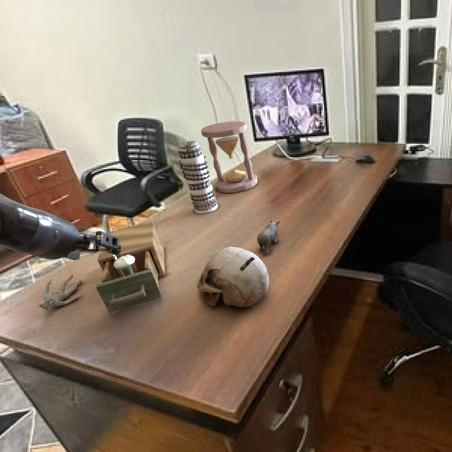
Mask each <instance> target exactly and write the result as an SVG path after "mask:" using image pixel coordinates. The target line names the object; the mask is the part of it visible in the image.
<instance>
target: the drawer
mask: <svg viewBox="0 0 452 452" xmlns="http://www.w3.org/2000/svg"><path fill="white" fill-rule="evenodd" d="M130 256H133V257H134V258H135V261H136V265H137V269H138V273H135V274H131V275H128V276H124V277H121V276H120V275H119V273H118V272H117V270H116V269H115V267H114V262H115V261H116V260H115V259H112V260H109V261H106V264H105V268H104V272H103V271H102V277H101V282H100V283H97V284H96V285H95V289H96V291H97V293H98V294H99V296H100V299H101V300H102V302H103V304H104V307H105V308H106V310H107V312H108V313H109V314H113V313H115V312H119V311H123V310H125V309H129V308H131V307H135V306H139V305H142V304H145V303H148V302H151V301H154V300H157V299H160V298H163V293H162V291H161V289H160V286H159V277H158V267H157V264H156V262H155V259H154V257H153V254H152V252H151V250H150V249H149V250H146V251H142V252H138V253H135V254H131V255H130ZM120 258H121V257H120ZM117 259H119V258H117Z"/></svg>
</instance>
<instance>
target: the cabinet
mask: <svg viewBox="0 0 452 452" xmlns="http://www.w3.org/2000/svg"><path fill="white" fill-rule="evenodd" d="M106 233H108V234H110V235H113V236H116V237H118V238H119V245H121V252H120V254H119V255H114V254H113V255H114V256H115V257H116V258H120V257H122V256H126V255H131V254H135V253H138V252H142V251H146V250H149V249H150V250H151V252H152V254H153V257H154V259H155V262H156V264H157V267H158V278H162V277H165V276H166V271H165V269H166V267H165V249H164V246H163V243H162V241H161V238H160V235H159V232H158V229H157V227H156V226H155V222H154V221H153V220H151V221H148V222H144V223H140V224H136V225H132V226H127V227H123V228H120V229H116V230H110V231H107V232H106ZM100 247H101V248H105V247H102V246H100ZM112 259H114V258H113V256H112V255H111V253H108V252H102V251H99V252H98V255H97V262H98V264H99V267H100V269H101V271H102V273H103V272H104V268H105V264H106V261H109V260H112Z"/></svg>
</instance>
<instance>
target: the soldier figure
mask: <svg viewBox="0 0 452 452" xmlns="http://www.w3.org/2000/svg"><path fill="white" fill-rule="evenodd" d="M73 278H74V274H70V276H68V277H67V278H65V280H63V281H61V283H60V284H59V286H58V289H57V290H56V291H53V292H52V293H51V294H49V293H50V285H53V282H52V281H53V279H50V280H48V281H47V283H46V284H45V288H44V291H43V300H44V301H43V302H42V303H41V304H38V307H39V308H41V309H44V310H45V311H49V309H50V306H55V307H58V306H59V307H60V306H66V305H68V304H70V303H72V302H74V301H75V300H77V299H79V298H80V296H81V295H79V294H76V295H74V296H73V297H72V298H69V299H67V298H68V297H69V296H70V295H71V294H72V293H74V291H76V290H77V289H78V286H79V285H80V284H82V283H83V280H82V279H79V280H78V281H77V282H75V284H74V285H71V286H70V287H69V288H68V289H67V290H66V287H67V285H68V282H70V281H71V280H72V279H73ZM65 290H66V291H65ZM66 299H67V300H66ZM64 300H65V301H64Z"/></svg>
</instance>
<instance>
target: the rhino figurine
mask: <svg viewBox="0 0 452 452" xmlns="http://www.w3.org/2000/svg"><path fill="white" fill-rule="evenodd" d="M269 222H270V223H267V225H266V226H265V227H264V229H263V230H262V231H260V232H258V235H257V237H256V242H257V244H258V245H259V251H260V252H263V254H264V255H268V254H270V250H268V247H269V245H270V243H271V242H272V243H273V244H278V241H277V240H276V238H277V235H278V232H279V225H280V223H281V221H280V220H278V221H277V222H276V221H275V222H274V221H273V220H272V219H270V221H269Z"/></svg>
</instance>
